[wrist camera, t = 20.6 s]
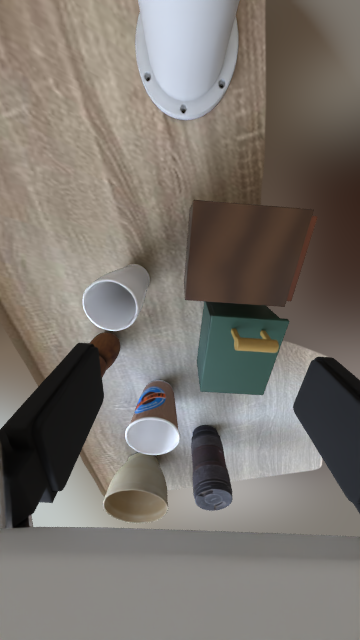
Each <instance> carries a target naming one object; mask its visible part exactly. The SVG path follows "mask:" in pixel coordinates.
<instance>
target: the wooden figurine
mask: <svg viewBox="0 0 360 640" xmlns="http://www.w3.org/2000/svg"><path fill="white" fill-rule="evenodd" d="M90 344H93V345H94V347H97V348H98V350H99V359H100V367H101V375H102V377H103V375H104V373H105V371H106V370H107V369H108V368H109V367H110V366H111V365H112V364H113V363H114V361H115V359H116V358H117V356H118V354H119V351H120V342H119V339H118V338H117V336H116V335H114V334H112V333H109V332H106V333H101V334H99V335H97V336H96V337H95V338H94V339H93V340H92V341H91V342H90Z"/></svg>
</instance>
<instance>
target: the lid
mask: <svg viewBox="0 0 360 640" xmlns="http://www.w3.org/2000/svg"><path fill="white" fill-rule="evenodd" d="M288 324H289V320H288V319H280V318H266V317H251V316H236V315H221V314H212V315H211V322H210V328H209V335H208V341H207V347H206V354H205V360H204V366H203V373H202V379H201V386H200V391H201V392H217V393H235V394H252V395H263V394H264V391H265V388H266V385H267V383H268V380H269V377H270V374H271V371H272V369H273V366H274V363H275V360H276V357H277V355H278V352H279V349H280V346H281V343H282V341H283V338H284V335H285V332H286V329H287V327H288Z"/></svg>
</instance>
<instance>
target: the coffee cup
mask: <svg viewBox="0 0 360 640" xmlns="http://www.w3.org/2000/svg"><path fill="white" fill-rule="evenodd" d="M125 438H126V441H127V443H128V444H129V445H130V446H131V447H132V448H133V449H134V450H136V451H138V452H140V453H143V454H148V455H160V454H165V453H168V452H170V451H172V450H173V449H174V448H175V447H176V446H177V445H178V443H179V441H180V433H179V431H178V424H177V415H176V407H175V398H174V392H173V389H172V387H171V385H170V384H169V383H167V382H165V381H162V380H155V381H152V382H150V383H148V384H147V385H146V387H145V389H144V390H143V393H142V395H141V397H140V399H139V401H138V404H137V407H136V409H135V413H134V415H133V418H132V420H131V423H130V425H129V426H128V427H127V429H126V432H125Z"/></svg>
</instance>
